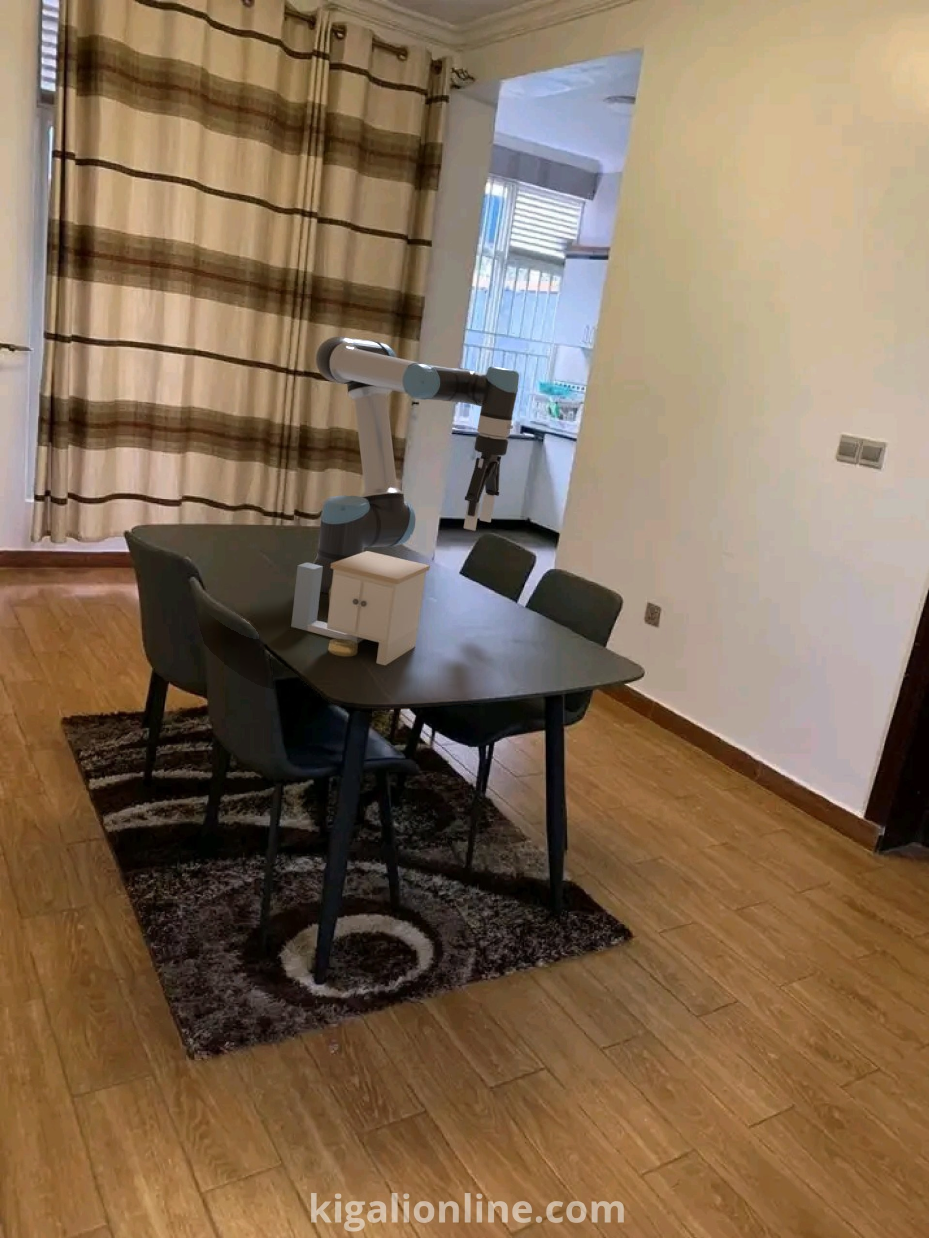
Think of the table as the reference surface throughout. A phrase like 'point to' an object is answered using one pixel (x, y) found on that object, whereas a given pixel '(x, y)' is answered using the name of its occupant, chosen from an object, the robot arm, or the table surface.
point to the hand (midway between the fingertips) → (477, 525)
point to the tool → (312, 603)
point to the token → (343, 647)
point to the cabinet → (378, 601)
